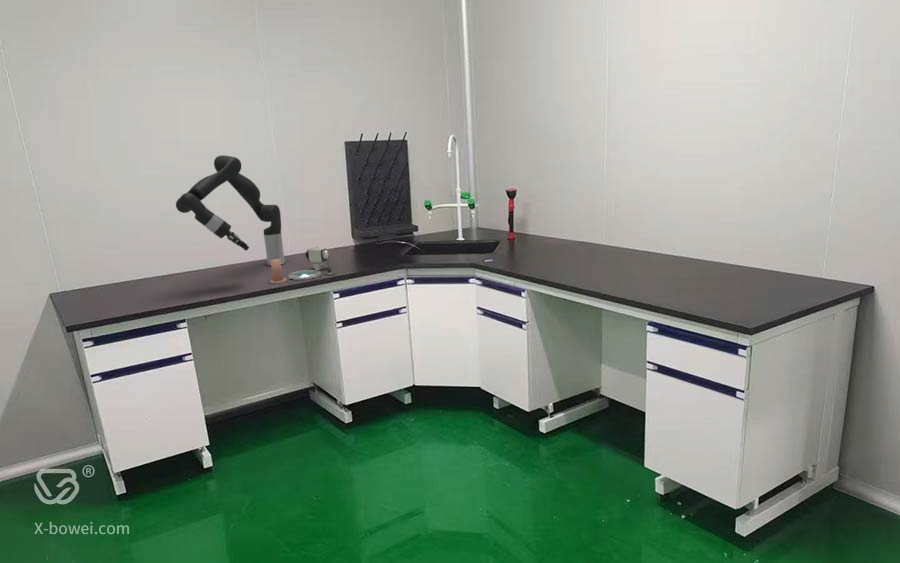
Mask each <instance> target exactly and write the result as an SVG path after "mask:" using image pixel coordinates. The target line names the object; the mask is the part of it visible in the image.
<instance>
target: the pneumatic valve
mask: <svg viewBox="0 0 900 563" xmlns="http://www.w3.org/2000/svg"><path fill="white" fill-rule="evenodd" d="M323 250H327V251H328V249H327V248H321V247H320V248H318V247H317V246H316V247H313V248H309V249H307V250H306V252H305V257H306V259H307V260H308V262H314V263H313V265H312V267H313V270H314V269H315V270H318V271H321V270H323V269H324V268H325V264H324V262H327V259H324V258H323V256H322V251H323Z"/></svg>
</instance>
